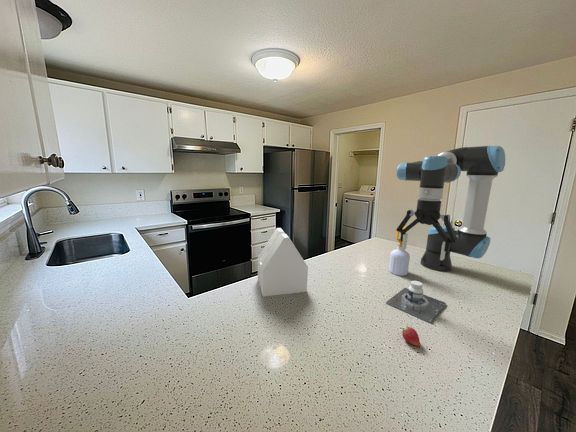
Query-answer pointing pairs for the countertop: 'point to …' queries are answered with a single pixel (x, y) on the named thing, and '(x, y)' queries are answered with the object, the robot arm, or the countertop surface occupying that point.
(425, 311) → the duct plate
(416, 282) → the pill bottle
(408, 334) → the fruit
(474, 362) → the countertop surface
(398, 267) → the soap bottle
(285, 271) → the white toy house
